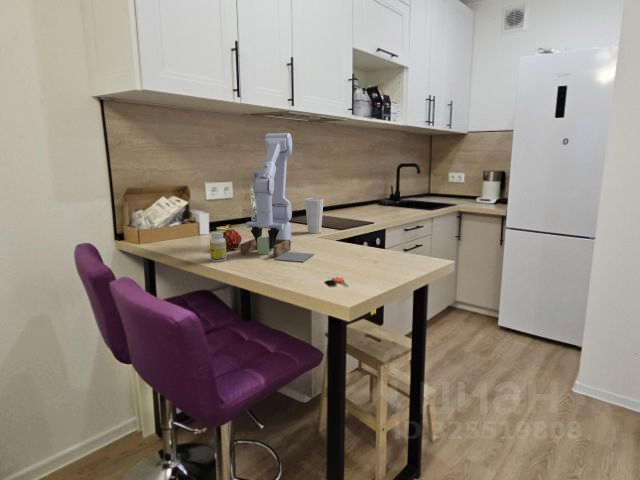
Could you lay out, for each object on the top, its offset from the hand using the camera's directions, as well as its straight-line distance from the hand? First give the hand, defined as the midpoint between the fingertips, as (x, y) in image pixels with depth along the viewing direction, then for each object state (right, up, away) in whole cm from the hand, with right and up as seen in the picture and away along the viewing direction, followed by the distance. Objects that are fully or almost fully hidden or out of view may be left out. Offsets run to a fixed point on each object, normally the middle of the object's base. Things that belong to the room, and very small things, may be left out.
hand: (265, 247), depth 154 cm
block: (0, -2, 0) cm, 2 cm away
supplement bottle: (-15, -4, -9) cm, 18 cm away
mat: (+11, -3, -7) cm, 14 cm away
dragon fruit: (-15, -1, +7) cm, 16 cm away
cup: (+18, +6, +38) cm, 43 cm away
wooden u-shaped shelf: (0, -2, 0) cm, 2 cm away
